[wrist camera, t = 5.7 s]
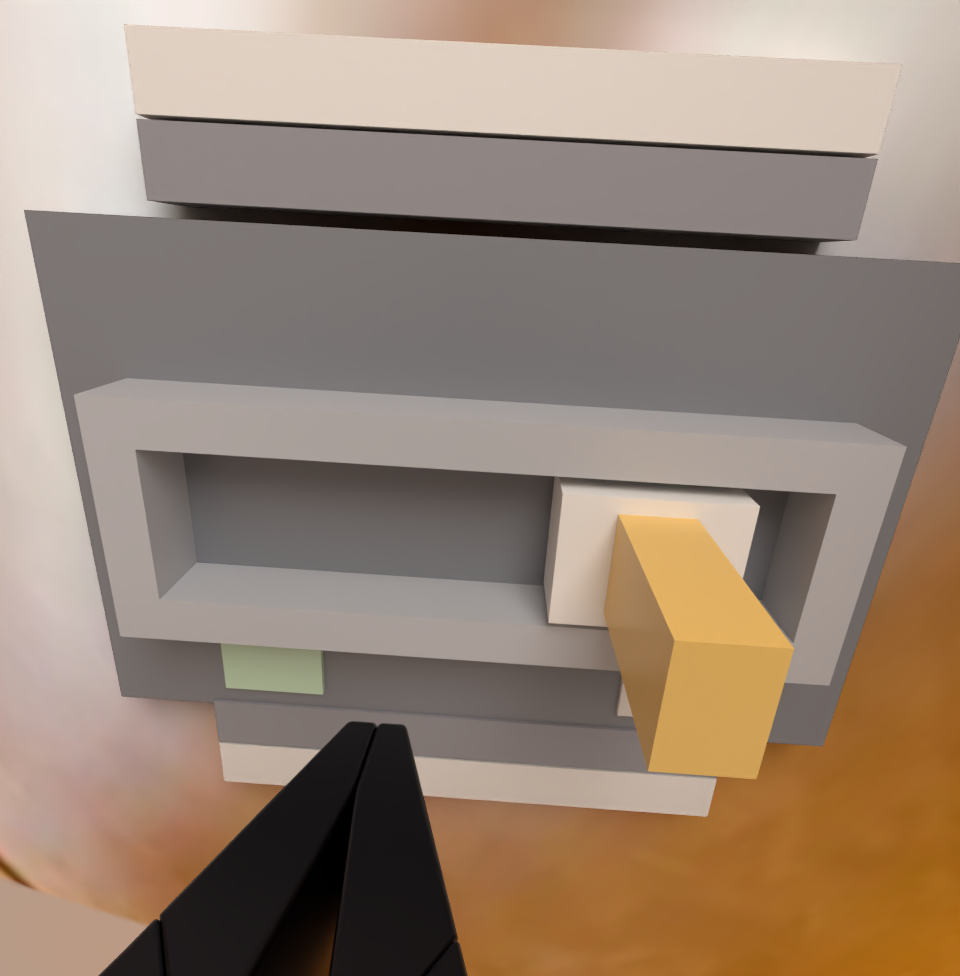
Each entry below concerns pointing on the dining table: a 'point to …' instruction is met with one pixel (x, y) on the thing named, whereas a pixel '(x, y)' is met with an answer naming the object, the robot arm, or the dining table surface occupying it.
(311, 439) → the breaker panel
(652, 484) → the breaker lever
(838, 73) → the cream-topped gray bar
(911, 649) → the dining table surface
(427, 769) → the light gray block
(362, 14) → the dining table surface
